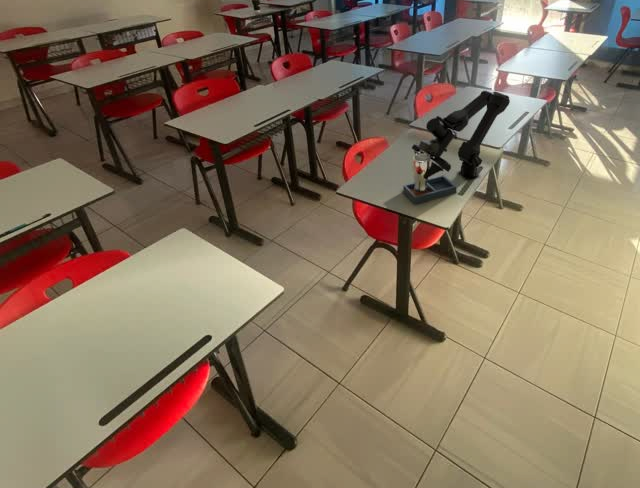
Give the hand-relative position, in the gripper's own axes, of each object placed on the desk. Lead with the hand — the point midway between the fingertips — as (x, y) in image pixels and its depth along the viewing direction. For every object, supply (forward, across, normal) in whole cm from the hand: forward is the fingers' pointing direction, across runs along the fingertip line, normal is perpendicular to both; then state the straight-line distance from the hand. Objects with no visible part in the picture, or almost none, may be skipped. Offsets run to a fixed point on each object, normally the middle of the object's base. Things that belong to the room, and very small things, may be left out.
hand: (418, 174), depth 165 cm
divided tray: (+3, +1, +11) cm, 12 cm away
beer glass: (+4, 0, +6) cm, 8 cm away
